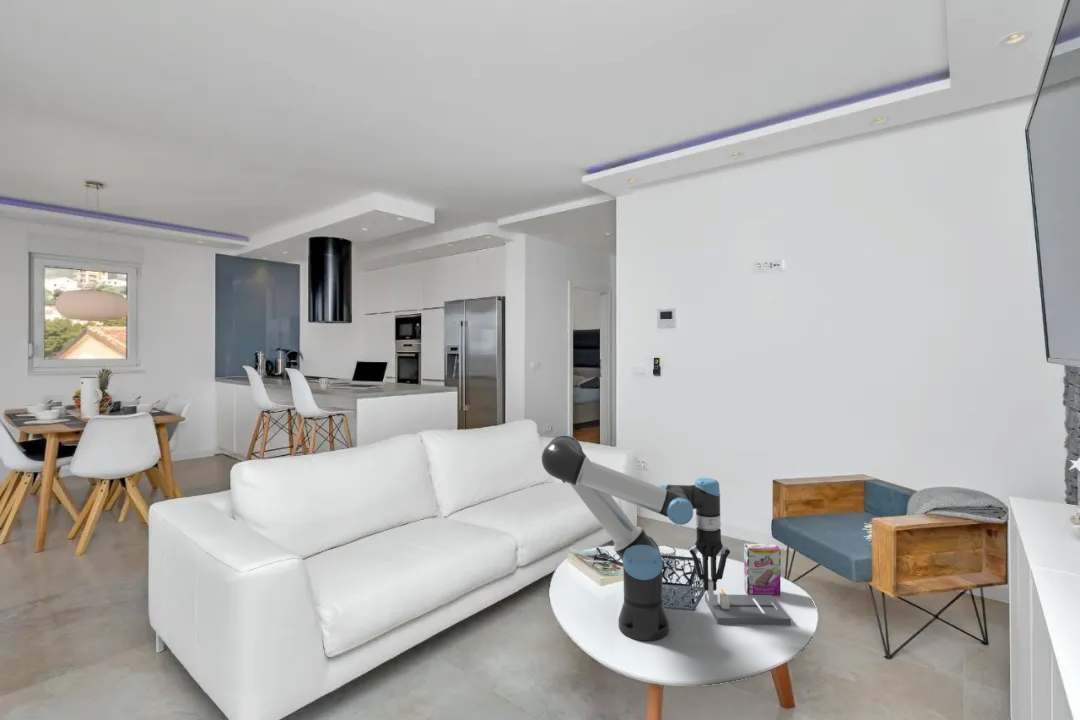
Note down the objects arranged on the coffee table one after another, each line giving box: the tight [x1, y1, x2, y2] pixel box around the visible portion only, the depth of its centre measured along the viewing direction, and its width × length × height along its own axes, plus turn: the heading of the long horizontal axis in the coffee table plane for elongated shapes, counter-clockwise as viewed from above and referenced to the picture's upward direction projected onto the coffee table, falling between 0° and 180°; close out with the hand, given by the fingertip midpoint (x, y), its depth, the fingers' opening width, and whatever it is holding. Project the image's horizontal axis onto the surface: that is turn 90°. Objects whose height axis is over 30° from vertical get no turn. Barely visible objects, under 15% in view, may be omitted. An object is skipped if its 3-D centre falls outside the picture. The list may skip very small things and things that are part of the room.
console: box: [704, 593, 792, 626], centre depth 171 cm, size 22×16×2 cm
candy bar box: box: [743, 543, 781, 597], centre depth 184 cm, size 11×5×16 cm, turn 84°
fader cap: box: [717, 588, 730, 609], centre depth 171 cm, size 2×5×4 cm, turn 176°
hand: (710, 600), depth 171 cm, fingers closed
